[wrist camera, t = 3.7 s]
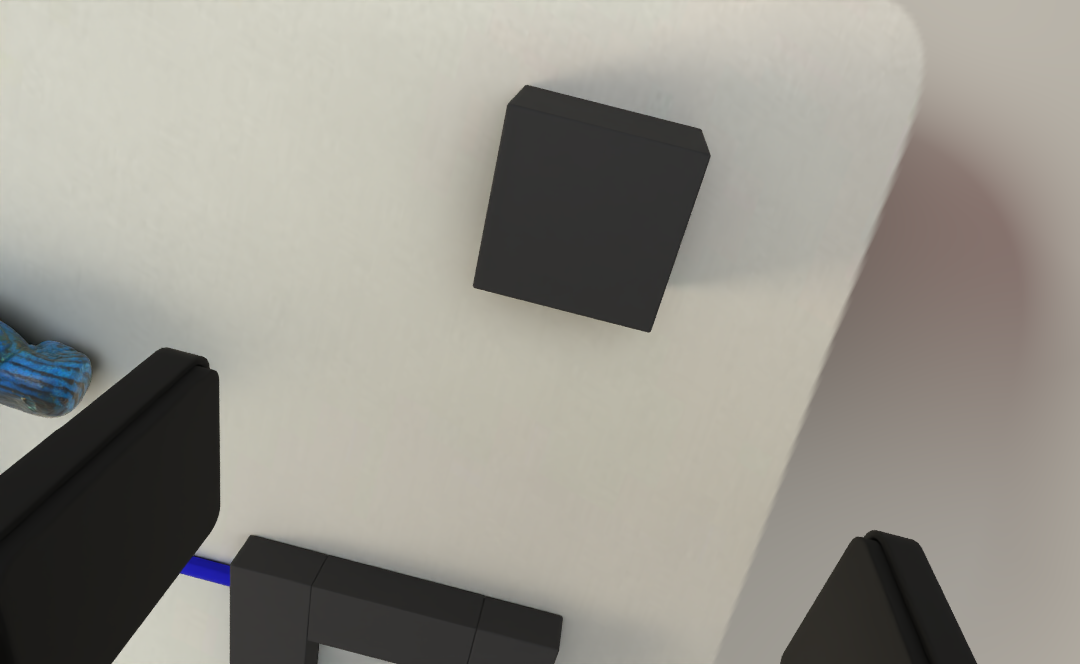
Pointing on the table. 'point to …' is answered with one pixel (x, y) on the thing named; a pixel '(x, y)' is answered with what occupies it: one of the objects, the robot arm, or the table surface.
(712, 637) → the table surface
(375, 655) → the dark grey square frame
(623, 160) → the black block
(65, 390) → the figurine
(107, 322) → the table surface
